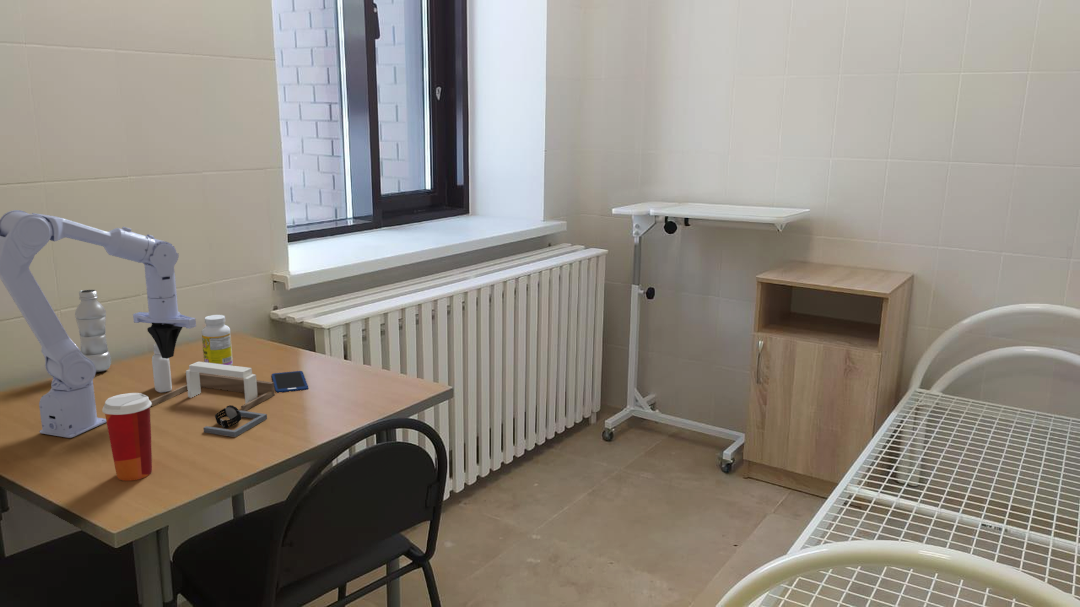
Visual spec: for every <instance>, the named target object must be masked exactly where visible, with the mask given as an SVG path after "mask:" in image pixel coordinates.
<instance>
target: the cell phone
mask: <svg viewBox="0 0 1080 607" xmlns="http://www.w3.org/2000/svg"><path fill="white" fill-rule="evenodd" d="M271 378H272V379H271V380H272V382H274V392H275V391H276V392H277V393H276V392H275V393H276V394H280V393H279V392H282V393H290V392H289V391H291V392H298V391H300V390H301V391H307V390H309V385H308V381H307V380H306V377H305V374H304V372H303V371H302V370H297V371H294V370H293V371H286V372H285V371H284V372H274V373H272V374H271ZM301 391H300V392H301Z"/></svg>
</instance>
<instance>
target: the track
mask: <svg viewBox="0 0 1080 607" xmlns="http://www.w3.org/2000/svg"><path fill="white" fill-rule="evenodd" d="M199 376H200V387H201V388H205V387H206V388H207V389H212V388H214V389H215V390H220V389H222V390H221V391H227V390H228V392H236V393H242V394H243V393H244V394H245V391H244V378H238V377H230V376H222V375H214V374H206V373H199ZM256 381H257V396H258V397H257V398H256V399H254V400H252V401H250V402H248V403H246V404H242V405H241V406H240V408H241V409H240V410H241V411H248V410H250V409H252V408H254V407H255V406H257V405H259V404H261V403H263V402H265V401H267V400H268V399H271V398H272V397H274V396H275V393H276V392H275V388H274V382H273V381H265V380H257V379H256ZM185 392H188V391H187V384H184V385H182V386H180V387H177V388H175V389H174V390H171V391H168V392H167V393H166V392H165V393H164V394H162V395H160V396H158V397H155V398H152V399H151V400H150V401H151V402H152V405H151V406H153V405H155V406H157V405H159V404H161V403H163V402H165V400H166V401H168V400H170V399H172V398H174V397H176V395H177V396H178V395H181V394H183V393H185ZM180 393H181V394H180ZM167 399H168V400H167ZM162 401H163V402H162ZM160 402H161V403H160ZM158 403H159V404H158ZM156 404H157V405H156ZM151 406H150V408H152V407H151ZM153 407H154V406H153Z"/></svg>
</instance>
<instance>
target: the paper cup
mask: <svg viewBox="0 0 1080 607" xmlns="http://www.w3.org/2000/svg"><path fill="white" fill-rule="evenodd" d="M151 405H152V402H151V400H150V399H149V396H148V395H146V394H144V393H141V392H129V393H123V394H122V393H121V394H116V395H114V396H110V397H108V398H107V399H106V400H105V401H104V404H103V407H102V409H101V410H102V411H101V412H102V413H103V414H104V416H105V419H106V425H107V426H106V427H107V432H108V437H109V441H110V442H109V443H110V448H111V454H112V459H113V463H114V469H115V474H116V478H117V479H118V480H120V481H122V482H124V481H125V482H132V481H133V482H134V481H137V480H138V481H139V480H141V479H144V478H146V477H149V476H150V475H152V471H153V458H152V429H151V428H152V427H151V423H152V422H151V407H150V406H151Z"/></svg>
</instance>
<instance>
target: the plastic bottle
mask: <svg viewBox="0 0 1080 607" xmlns="http://www.w3.org/2000/svg"><path fill="white" fill-rule="evenodd" d="M78 298H79V299H78V300H80V302H79V304H78V305H77V307H76V308H75V312H74V318H75V321H76V325H77V327H78V328H77V329H78V333H79V338H80V351H81V353H82V354H83V355H84V356H85V357H87V358H89V359H90V360H92V361H93V363H94V364H95V367H96V373H100V372H104V371H107V370H109V368H110V366H111V364H112V358H111V354H110V351H109V348H108V343H107V335H106V325H107V324H106V322H107V320H106V319H107V311H106V308H105V306H103V304H102V303H101V302H100V301H98V298H99V295H98V292H97V290H96V289H83V290H80V291H79V292H78Z"/></svg>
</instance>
